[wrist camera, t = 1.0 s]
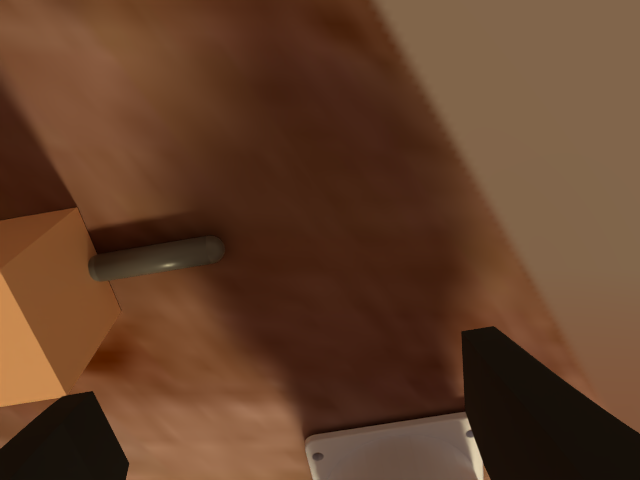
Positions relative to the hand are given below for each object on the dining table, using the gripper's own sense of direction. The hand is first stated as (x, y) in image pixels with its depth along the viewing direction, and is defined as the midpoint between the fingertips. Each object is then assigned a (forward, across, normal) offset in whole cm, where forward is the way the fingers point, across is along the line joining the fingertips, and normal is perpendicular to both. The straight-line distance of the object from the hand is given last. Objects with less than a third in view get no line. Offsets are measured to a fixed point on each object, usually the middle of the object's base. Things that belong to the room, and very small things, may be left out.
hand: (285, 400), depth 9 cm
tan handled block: (+8, +7, 0) cm, 11 cm away
